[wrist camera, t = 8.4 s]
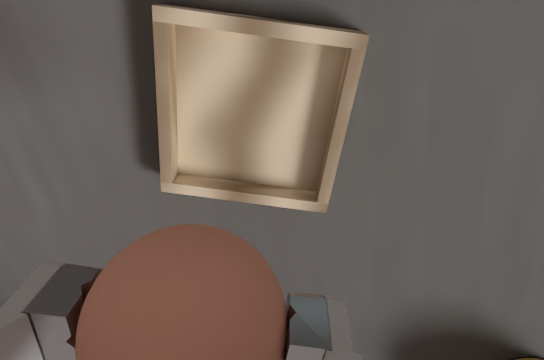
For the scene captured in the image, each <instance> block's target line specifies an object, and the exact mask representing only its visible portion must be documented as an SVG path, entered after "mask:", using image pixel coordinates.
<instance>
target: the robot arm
mask: <svg viewBox="0 0 544 360" xmlns="http://www.w3.org/2000/svg"><path fill="white" fill-rule="evenodd" d="M102 270H103V269H100V268H93V267H86V266H80V265H73V264H65V263H58V262H51V261H47V262H45V263H43V264H41V265H40V266H39V267H38V268H37V269H36V270H35V271H34V272H33V274H32V275H31V276H30V277H29V278H28V279H27V280H26V281H25V282H24V283H23V284H22V285H21V287H20V288H19V289H18V290H17V291H16V292H15V293H14V294H13V295H12V296H11V297H10V298H9V300H8V301H7V302H6V303H5V304H4V305H3V306H2V307H1V308H0V360H76V356H75V345H76V330H77V325H78V320H79V316H80V313H81V309H82V306H83V304H84V301H85V299H86V296H87V294H88V293H89V291H90V289H91V287H92V285H93V284H94V282H95V280H96V278H97V277H98V275H99V274H100V273H101V272H102ZM286 318H287V333H286V343H285V349H284V353H283V357H282V360H364V359H363V358H362V356H361V355H359V354H354V349H353V343H352V338H351V332H350V327H349V321H348V315H347V310H346V304H345V301H344V299H343V298H338V297H329V296H322V295H313V294H305V293H296V292H289V293H288V296H287V301H286Z"/></svg>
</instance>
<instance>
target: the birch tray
mask: <svg viewBox="0 0 544 360" xmlns="http://www.w3.org/2000/svg"><path fill="white" fill-rule="evenodd" d="M152 19H153V39H154V59H155V79H156V99H157V118H158V138H159V158H160V178H161V192H169V193H177V194H184V195H192V196H200V197H207V198H215V199H223V200H230V201H238V202H246V203H253V204H261V205H268V206H276V207H284V208H291V209H299V210H307V211H314V212H322V213H326V211H327V207H328V203H329V199H330V195H331V191H332V187H333V183H334V179H335V175H336V171H337V167H338V162H339V158H340V154H341V150H342V146H343V142H344V138H345V134H346V130H347V126H348V122H349V118H350V114H351V110H352V105H353V101H354V97H355V93H356V89H357V85H358V81H359V77H360V73H361V69H362V65H363V61H364V57H365V53H366V49H367V44H368V40H369V36H370V35H369V34H367V33H365V32H363V31H358V30H351V29H344V28H336V27H329V26H322V25H315V24H308V23H300V22H293V21H286V20H279V19H271V18H264V17H257V16H250V15H242V14H235V13H228V12H221V11H214V10H206V9H199V8H192V7H185V6H177V5H170V4H157V5H152Z"/></svg>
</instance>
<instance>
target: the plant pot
mask: <svg viewBox="0 0 544 360" xmlns="http://www.w3.org/2000/svg"><path fill="white" fill-rule="evenodd" d="M515 360H542V359H538V358H520V359H515Z"/></svg>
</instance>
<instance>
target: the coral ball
mask: <svg viewBox="0 0 544 360" xmlns="http://www.w3.org/2000/svg"><path fill="white" fill-rule="evenodd" d="M286 333H287V318H286V306H285V302H284V298H283V294H282V290H281V287H280V285H279V283H278V280H277V278H276V276H275V274H274V272H273V270H272V269H271V267H270V266H269V264H268V263H267V261H266V260H265V259H264V257H263V256H262V255H261V254H260V253H259V252H258V251H257V250H256V249H255V248H254V247H252V246H251V245H250V244H249V243H248V242H246V241H245V240H243V239H242V238H240V237H239V236H237V235H235V234H233V233H231V232H228V231H226V230H223V229H220V228H217V227H213V226H208V225H199V224H184V225H177V226H171V227H166V228H163V229H159V230H157V231H154V232H152V233H150V234H147V235H145V236H143V237H141V238H139V239H138V240H136V241H134V242H133V243H131V244H130V245H128V246H127V247H125V248H124V249H123V250H122V251H121V252H119V253H118V254H117V255H116V256H115V257H114V258H113V259H112V260H111V261H110V262H109V263H108V264H107V265H106V267H105V268H104V269H103V270H102V272H101V273H100V274H99V275H98V277H97V278H96V280H95V282H94V284H93V285H92V287H91V289H90V291H89V293H88V294H87V296H86V299H85V301H84V304H83V306H82V309H81V313H80V316H79V320H78V325H77V330H76V345H75V356H76V360H282V357H283V353H284V349H285V343H286Z"/></svg>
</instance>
